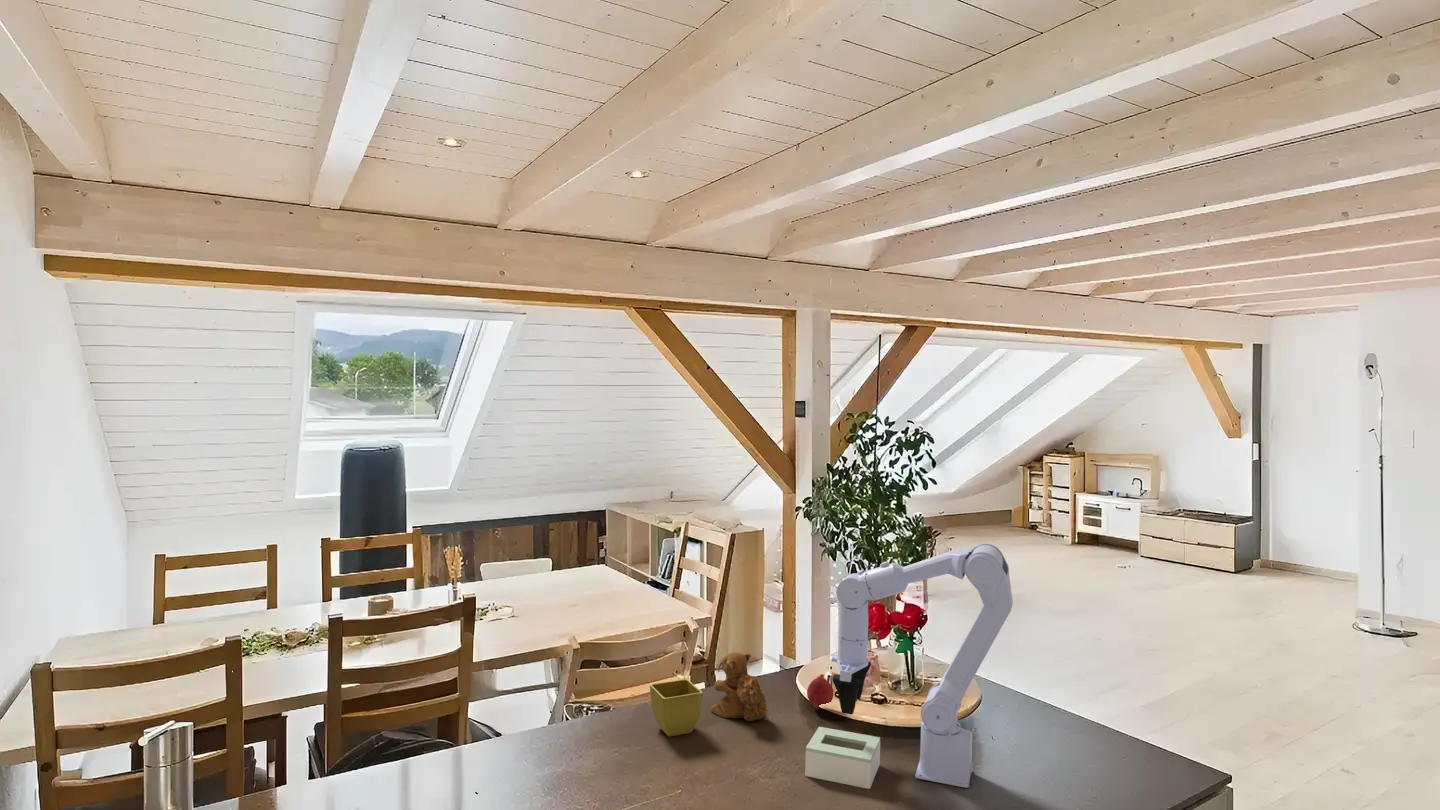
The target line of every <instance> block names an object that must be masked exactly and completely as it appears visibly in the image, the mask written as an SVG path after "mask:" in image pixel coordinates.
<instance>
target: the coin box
mask: <svg viewBox="0 0 1440 810" xmlns="http://www.w3.org/2000/svg"><path fill="white" fill-rule="evenodd" d="M880 759H881V737H880V736H874V735H869V734H862V733H857V732H851V731H846V730H840V729H835V728H834V729H833V728H829V727H825V726H824V727H823V726H818V728H817V729H816V730H815V732H814V734H813V735H812V737H811V739H810V740H809V742H808V744H807V745H806V747H805V759H804V760H805V764H804V765H805V766H804V768H805V770H804V772H805V773H804V776H805V777H808V778H812V779H813V778H814V779H818V780H822V781H829V782H833V783H838V784H844V785H849V786H853V787H857V788H864V789H868V790H870V789H871V787H872V785H873V783H874V780H875V777H876V774H877V773H878V770H879V768H880V766H881V765H880V764H881V760H880Z"/></svg>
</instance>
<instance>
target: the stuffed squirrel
mask: <svg viewBox="0 0 1440 810" xmlns="http://www.w3.org/2000/svg"><path fill="white" fill-rule="evenodd" d="M751 657H752V654H751V653H747V652H746V653H745V654H744V653H742V652H737V651H735V652H734V651H733V652H730V653H728V654H727V655H725V656H723V658H722V661H721V662H720V663H719V665H718V666H717V668H716V671H718V673H719V672H720V670H721V669H722V671H723V672H724V674H725V679H724V680H722V679H721V680H720V679H718V680H716V681H714V686H713V687H714V689H715V691H717V692H724V693H726V694H724V697H722V699H720V700H719V702H718V703H717V704H714V705H712V706H711V708H710V711H711V713H713V714H714V715H717V716H719V717H722V718H725V719H739V718H743V720H744V721H747V722H752V723H753V722H754V721H759V720H761V719H763V718H764V717H765V716H766V715H767V713H768V712H769V710H768V709H767V703H766V702H767V701H766V698H765V697H766V696H765V695H764V693H763V690H762V689H761V685H760V684H759V679H758V678H757V676H755V675H750V674H749V673H748V667H747V664H748V662H749V660H750V658H751ZM721 667H722V668H721ZM720 668H721V669H720Z"/></svg>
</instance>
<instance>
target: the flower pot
mask: <svg viewBox="0 0 1440 810" xmlns="http://www.w3.org/2000/svg"><path fill="white" fill-rule="evenodd" d="M649 692H650V693H649V694H650V702H651V709H652V713H653V716H654V718H655V720H656V721H655V722H656V723H657V725H658V726H659V728H660V729H661V730H662V732H663V733H665V735H666V736H667V737H675V736H680V735H685V734H690V733H692V732H693V730H694V729H695V728H696V725H697V723H698V722H699V719H700V715H701V707H702V701H703V692H704V691H702V690H701V689H700V688H698V686H696V685H695V684H693V682H691V681H690V680H689V679H687V678H683V679H675V680H670V681H663V682H655V683H651V684H649Z"/></svg>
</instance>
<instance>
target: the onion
mask: <svg viewBox="0 0 1440 810" xmlns="http://www.w3.org/2000/svg"><path fill="white" fill-rule="evenodd" d="M806 694H807V699H808V701H809V703H810V705H812V706H813V707H814V708H816V709H817V710H819V705H821V704H826V703H829V702H831V703H832V701H833V698H834V689H833V686H832V684H831V683H830V682H829V681H828V680H827V679H826V678H825V674H823V673H819V674H818V675H817V677H816V678H813V680H811V682H810V683H809V685H808V687H807V689H806Z"/></svg>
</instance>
